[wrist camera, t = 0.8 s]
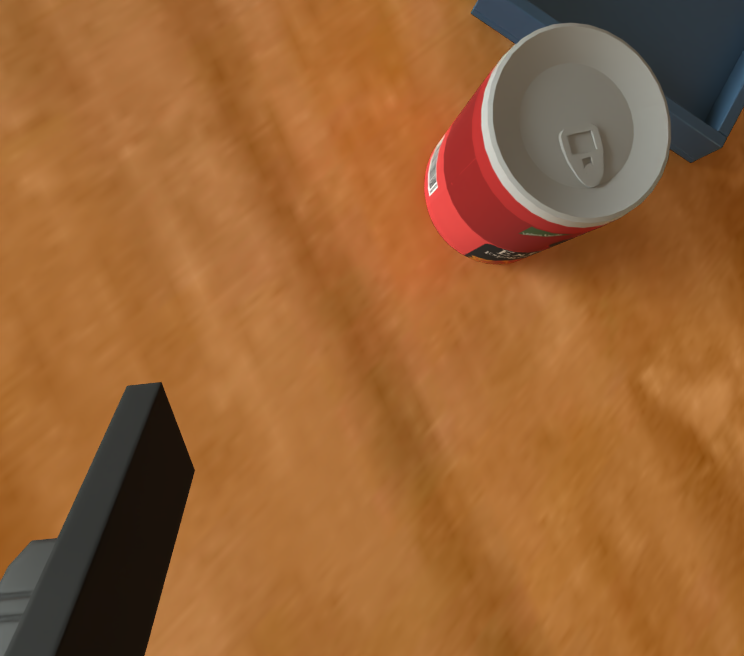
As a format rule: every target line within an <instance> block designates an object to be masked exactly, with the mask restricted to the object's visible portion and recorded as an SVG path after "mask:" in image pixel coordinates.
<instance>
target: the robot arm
mask: <svg viewBox="0 0 744 656" xmlns="http://www.w3.org/2000/svg"><path fill="white" fill-rule="evenodd" d="M194 471H195V469H194V467H193V464H192V462H191V459H190V456H189V454H188V451H187V448H186V446H185V443H184V441H183V438H182V435H181V433H180V430H179V427H178V425H177V422H176V420H175V417H174V414H173V412H172V409H171V406H170V404H169V401H168V398H167V396H166V393H165V391H164V388H163V385H162V383H161V382H159V383H149V384H140V385H130V386H127V387H126V389H125V392H124V394H123V396H122V398H121V400H120V402H119V405H118V407H117V409H116V411H115V413H114V416H113V418H112V420H111V422H110V424H109V427H108V429H107V431H106V433H105V435H104V438H103V440H102V442H101V444H100V446H99V448H98V451H97V453H96V455H95V457H94V459H93V462H92V464H91V466H90V468H89V470H88V473H87V475H86V477H85V479H84V481H83V484H82V486H81V488H80V490H79V492H78V494H77V497H76V499H75V501H74V503H73V505H72V508H71V510H70V512H69V514H68V516H67V519H66V521H65V523H64V525H63V527H62V530H61V532H60V534H59V536H58V538H55V539H45V540H35V541H31V542H30V543H29V544H28V545H27V547H26V548H25V549H24V550H23V551H22V552H21V553H20V554H19V555H18V556H17V557H16V558H15V560H14V561H13V562H12V563H11V564H10V565H9V566H8V568H7V570H6V572H5V574H4V576H3V578H2V580H1V582H0V656H144V655H145V652H146V648H147V644H148V641H149V637H150V633H151V630H152V626H153V622H154V618H155V615H156V611H157V607H158V604H159V600H160V596H161V593H162V589H163V585H164V582H165V578H166V574H167V571H168V567H169V563H170V560H171V556H172V552H173V549H174V545H175V541H176V538H177V534H178V530H179V527H180V523H181V519H182V516H183V512H184V508H185V505H186V501H187V497H188V494H189V490H190V486H191V483H192V479H193V475H194Z"/></svg>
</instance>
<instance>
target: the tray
mask: <svg viewBox="0 0 744 656" xmlns="http://www.w3.org/2000/svg"><path fill="white" fill-rule="evenodd" d="M471 14H473V15H474V16H475V17H477V18H478V19H480V20H481V21H483V22H484V23H486V24H487V25H489V26H490V27H492V28H493V29H495V30H496V31H498V32H499V33H500V34H502V35H503V36H505V37H506V38H508V39H509V40H511V41H512V42H514V43H515V44H517V43H518V42H519V41H520V40H521V39H522V38H524V37H526V36H527V35H529V34H531V33H532V32H534V31H536V30H538V29H541V28H544V27H547V26H550V25H553V24H562V23H578V24H587V25H591V26H594V27H597V28H600V29H603V30H606V31H608V32H610V33H612V34H613V35H615V36H617V37H619V38H621V39H622V40H624V41H625V42H626V43H627V44H629V45H630V46H631V47H632V48H633V49H635V50H636V51H637V52H638V53H639V54H640V56H641V57H642V58H643V59H644V60H645V61H646V63H647V64H648V65H649V66H650V68H651V69H652V71H653V73H654V74H655V76H656V78H657V80H658V81H659V83H660V85H661V88H662V90H663V93H664V96H665V98H666V101H667V105H668V110H669V115H670V120H671V144H670V149H671V150H672V151H674V152H675V153H677V154H678V155H680V156H681V157H683V158H684V159H686V160H687V161H689V162H690V163H691V162H694V161H695V160H697V159H699V158H702V157H704V156H706V155H708V154H710V153H712V152H714V151H716V150H718V149H720V148H722V147H723V145H724V143H725V141H726V139H727V137H728V135H729V133H730V132H731V130H732V128H733V126H734V124H735V122H736V120H737V118H738V117H739V115H740V113H741V111H742V109H743V107H744V0H478V1H477V3H476V4H475V6H474V8H473V10H472V11H471Z"/></svg>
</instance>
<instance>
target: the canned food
mask: <svg viewBox="0 0 744 656" xmlns="http://www.w3.org/2000/svg"><path fill="white" fill-rule="evenodd" d="M670 144H671V120H670V115H669V110H668V105H667V101H666V98H665V96H664V93H663V90H662V88H661V85H660V83H659V81H658V80H657V78H656V76H655V74H654V73H653V71H652V69H651V68H650V66H649V65H648V64H647V63H646V61H645V60H644V59H643V58H642V57H641V56H640V54H639V53H638V52H637V51H636V50H635V49H633V48H632V47H631V46H630V45H629V44H627V43H626V42H625V41H624V40H622V39H621V38H619V37H617V36H615V35H613V34H612V33H610V32H608V31H606V30H603V29H600V28H597V27H594V26H591V25H587V24H578V23H562V24H553V25H550V26H547V27H544V28H541V29H538V30H536V31H534V32H532V33H531V34H529V35H527V36H526V37H524V38H522V39H521V40H520V41H519V42H518V43H517V44H515V45H514V46H513V47H512V48H511V49H510V50H509V51H508V52H507V53H506V54H505V55H504V56H503V57H502V58H501V59H500V61H499V62H498V63H497V65H496V66H495V67H494V68H493V69H492V70H491V72H490V73H489V75H488V76H487V77H486V79H485V80H484V81H483V83H482V84H481V85H480V87H479V88H478V90H477V91H476V92H475V94H474V95H473V96H472V98H471V99H470V101H469V102H468V103H467V105H466V106H465V107H464V109H463V110H462V111H461V113H460V114H459V116H458V117H457V118H456V120H455V121H454V122H453V124H452V125H451V126H450V128H449V129H448V131H447V132H446V133H445V135H444V136H443V137H442V139H441V140H440V142H439V143H438V145H437V146H436V147H435V149H434V150H433V152H432V154H431V157H430V159H429V162H428V164H427V169H426V174H425V198H426V204H427V209H428V212H429V215H430V217H431V220H432V223H433V224H434V226H435V228H436V229H437V231H438V233H439V234H440V235H441V237H442V238H443V239H444V240H445V241H446V242H447V243H448V244H449V245H450V246H451V247H453V248H454V249H455V250H456V251H458V252H459V253H461V254H463V255H465V256H467V257H469V258H471V259H473V260H476V261H479V262H483V263H487V264H506V263H512V262H515V261H518V260H521V259H523V258H526V257H528V256H531V255H533V254H536V253H538V252H540V251H543V250H545V249H548V248H550V247H553V246H555V245H558V244H560V243H563V242H565V241H567V240H570V239H572V238H575V237H577V236H580V235H582V234H585V233H587V232H590V231H592V230H594V229H597V228H599V227H602V226H604V225H606V224H608V223H610V222H612V221H615V220H617V219H619V218H621V217H622V216H624V215H625V214H627V213H628V212H630V211H631V210H633V209H634V208H635V207H637V206H638V205H640V204H641V203H642V202H643V201H644V200H645V199H646V198H647V197H648V196H649V194H650V193H651V192H652V191H653V190H654V188H655V186H656V185H657V183H658V181H659V180H660V178H661V177H662V174H663V171H664V169H665V166H666V163H667V160H668V156H669V150H670Z"/></svg>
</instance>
